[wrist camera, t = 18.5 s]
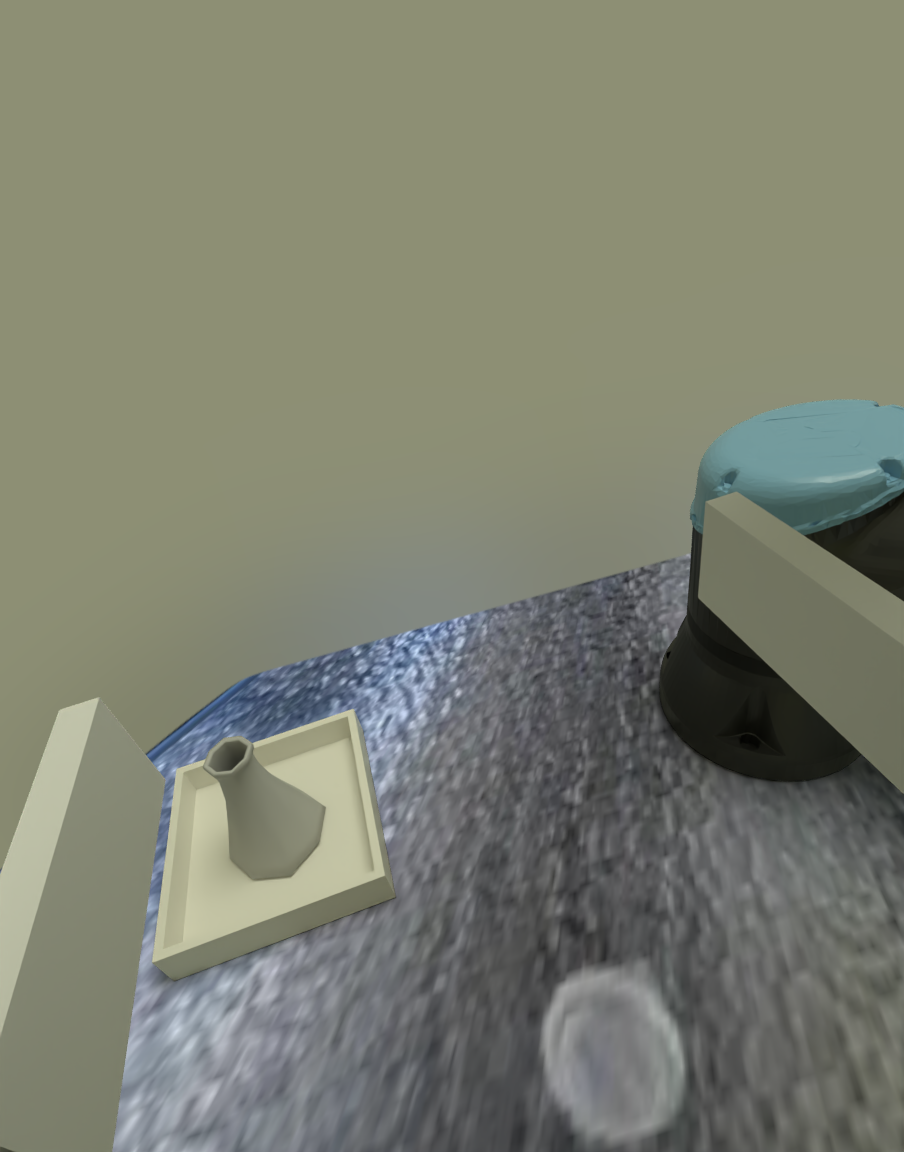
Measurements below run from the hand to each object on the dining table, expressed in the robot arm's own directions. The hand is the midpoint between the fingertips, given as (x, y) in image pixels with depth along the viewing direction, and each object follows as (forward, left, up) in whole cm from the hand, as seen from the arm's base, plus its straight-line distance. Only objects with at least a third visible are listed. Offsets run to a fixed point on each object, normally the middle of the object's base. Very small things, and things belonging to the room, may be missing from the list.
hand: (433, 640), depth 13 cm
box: (+14, -20, -32) cm, 40 cm away
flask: (+14, -20, -32) cm, 40 cm away
